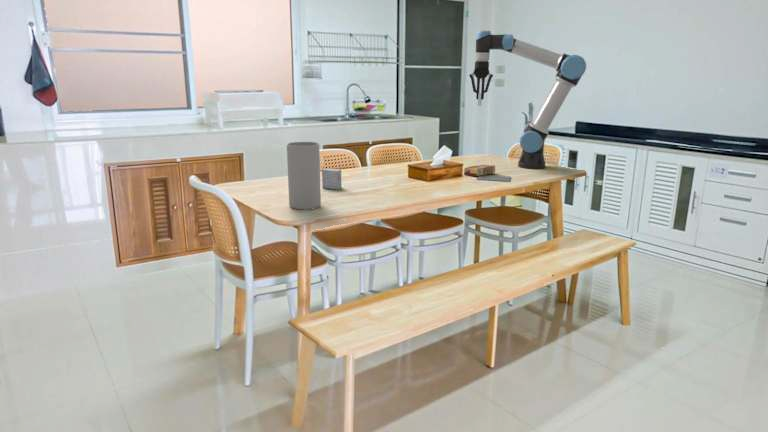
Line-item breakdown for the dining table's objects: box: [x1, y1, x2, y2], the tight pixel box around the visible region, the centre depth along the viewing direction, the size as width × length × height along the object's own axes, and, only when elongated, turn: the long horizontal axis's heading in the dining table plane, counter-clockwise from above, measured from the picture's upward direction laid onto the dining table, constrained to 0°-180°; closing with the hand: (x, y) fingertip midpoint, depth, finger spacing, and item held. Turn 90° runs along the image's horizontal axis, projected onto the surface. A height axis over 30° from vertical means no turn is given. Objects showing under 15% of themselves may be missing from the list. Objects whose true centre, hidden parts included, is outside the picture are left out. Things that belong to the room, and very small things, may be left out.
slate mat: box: [476, 174, 512, 183], centre depth 266 cm, size 16×12×1 cm
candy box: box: [463, 164, 496, 177], centre depth 275 cm, size 9×4×15 cm
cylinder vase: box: [286, 141, 322, 210], centre depth 206 cm, size 12×12×25 cm
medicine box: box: [321, 168, 342, 190], centre depth 240 cm, size 8×4×9 cm, turn 71°
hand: (479, 105), depth 288 cm, fingers closed
